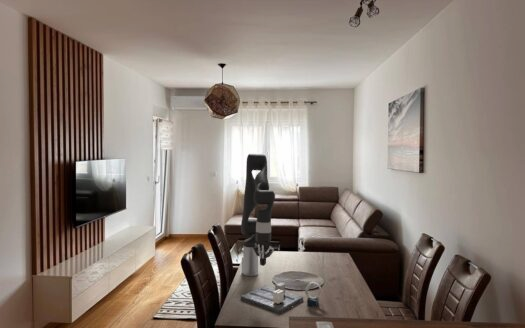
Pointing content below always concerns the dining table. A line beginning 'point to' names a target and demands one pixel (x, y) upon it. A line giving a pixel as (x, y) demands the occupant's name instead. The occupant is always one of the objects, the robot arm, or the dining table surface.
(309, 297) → the watch
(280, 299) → the fader white
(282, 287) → the fader grey
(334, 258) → the dining table surface
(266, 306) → the panel
